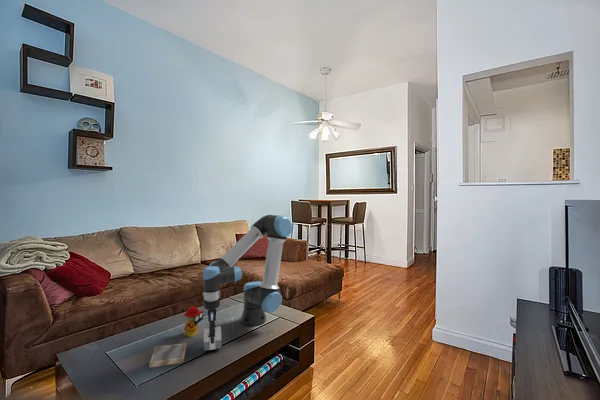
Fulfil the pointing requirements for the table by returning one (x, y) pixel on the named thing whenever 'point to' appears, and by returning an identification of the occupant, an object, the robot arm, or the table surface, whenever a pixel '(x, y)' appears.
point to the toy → (192, 321)
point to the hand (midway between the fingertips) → (212, 345)
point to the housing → (217, 338)
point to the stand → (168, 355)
